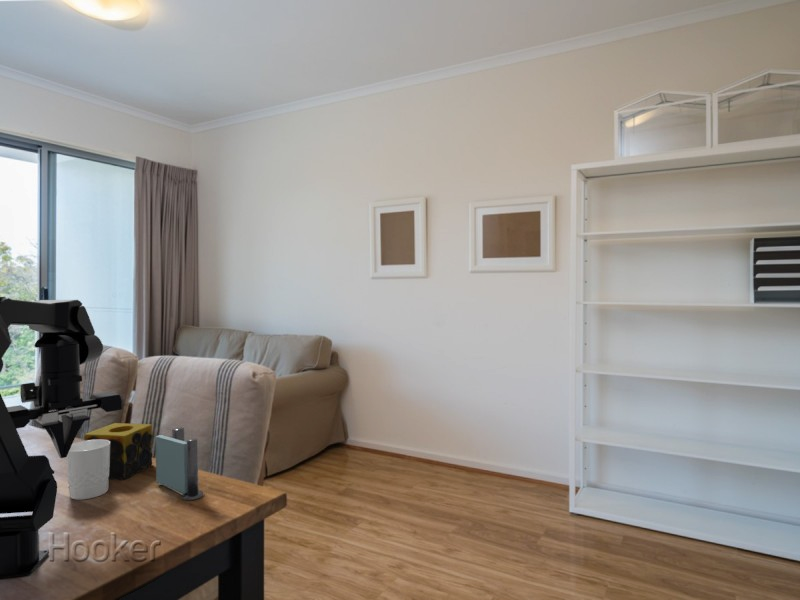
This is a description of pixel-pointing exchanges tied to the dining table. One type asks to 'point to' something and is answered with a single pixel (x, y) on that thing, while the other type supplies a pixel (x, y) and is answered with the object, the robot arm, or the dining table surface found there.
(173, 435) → the post
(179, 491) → the strip
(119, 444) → the holed cube box
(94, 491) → the white cup
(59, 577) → the dining table surface
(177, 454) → the gate
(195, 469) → the hinge post
